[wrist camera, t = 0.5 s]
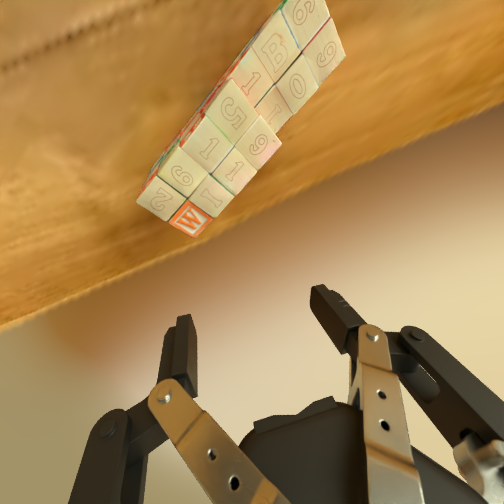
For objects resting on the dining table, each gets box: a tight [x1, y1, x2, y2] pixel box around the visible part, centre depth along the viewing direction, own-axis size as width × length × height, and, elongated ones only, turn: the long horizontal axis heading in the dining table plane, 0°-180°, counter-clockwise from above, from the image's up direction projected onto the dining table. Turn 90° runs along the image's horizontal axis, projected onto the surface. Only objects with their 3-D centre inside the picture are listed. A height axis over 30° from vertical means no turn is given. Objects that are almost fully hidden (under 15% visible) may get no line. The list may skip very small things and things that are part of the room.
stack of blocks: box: [136, 0, 346, 239], centre depth 21 cm, size 21×6×12 cm, turn 133°
